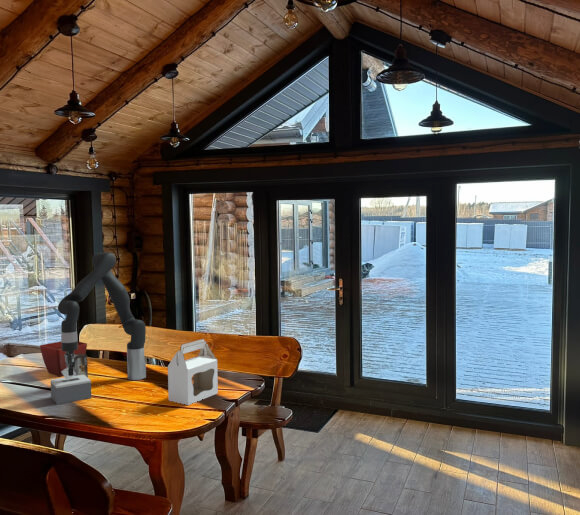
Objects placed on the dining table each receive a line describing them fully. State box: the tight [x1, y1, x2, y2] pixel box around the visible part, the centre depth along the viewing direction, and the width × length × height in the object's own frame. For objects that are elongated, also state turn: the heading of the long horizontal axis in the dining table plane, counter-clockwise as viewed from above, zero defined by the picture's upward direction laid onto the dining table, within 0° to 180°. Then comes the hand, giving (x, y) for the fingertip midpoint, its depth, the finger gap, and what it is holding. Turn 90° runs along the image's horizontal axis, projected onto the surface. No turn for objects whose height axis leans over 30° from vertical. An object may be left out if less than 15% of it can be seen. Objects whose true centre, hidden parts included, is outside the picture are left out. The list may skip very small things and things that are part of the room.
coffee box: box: [73, 354, 89, 378], centre depth 286 cm, size 9×6×16 cm
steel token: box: [61, 367, 76, 380], centre depth 265 cm, size 5×2×5 cm
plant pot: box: [39, 340, 88, 377], centre depth 311 cm, size 19×19×17 cm
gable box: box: [167, 338, 219, 406], centre depth 266 cm, size 22×13×28 cm, turn 147°
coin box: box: [50, 374, 92, 405], centre depth 266 cm, size 16×13×9 cm
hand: (70, 374), depth 265 cm, fingers closed on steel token, 1 cm apart
